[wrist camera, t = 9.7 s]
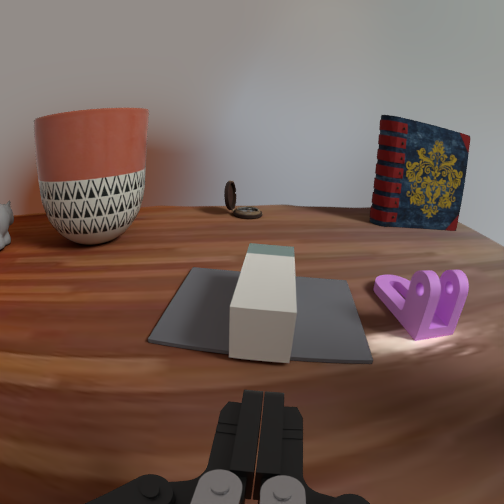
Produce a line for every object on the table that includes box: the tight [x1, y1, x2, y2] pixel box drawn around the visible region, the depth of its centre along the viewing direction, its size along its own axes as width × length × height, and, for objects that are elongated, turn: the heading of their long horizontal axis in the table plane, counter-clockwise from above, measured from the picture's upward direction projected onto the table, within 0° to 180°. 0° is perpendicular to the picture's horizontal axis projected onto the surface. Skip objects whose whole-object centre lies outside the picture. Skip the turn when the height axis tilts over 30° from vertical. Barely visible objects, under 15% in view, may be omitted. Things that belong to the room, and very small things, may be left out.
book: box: [370, 115, 470, 231], centre depth 67 cm, size 25×7×25 cm, turn 95°
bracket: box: [373, 270, 469, 341], centre depth 34 cm, size 13×6×7 cm, turn 6°
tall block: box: [229, 243, 297, 363], centre depth 31 cm, size 5×5×14 cm
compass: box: [225, 181, 263, 219], centre depth 69 cm, size 8×8×7 cm
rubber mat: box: [148, 267, 373, 364], centre depth 34 cm, size 20×16×1 cm
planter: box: [34, 108, 149, 245], centre depth 47 cm, size 20×20×21 cm
